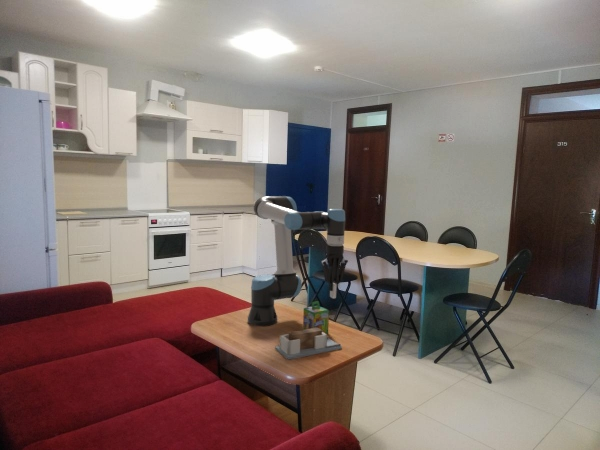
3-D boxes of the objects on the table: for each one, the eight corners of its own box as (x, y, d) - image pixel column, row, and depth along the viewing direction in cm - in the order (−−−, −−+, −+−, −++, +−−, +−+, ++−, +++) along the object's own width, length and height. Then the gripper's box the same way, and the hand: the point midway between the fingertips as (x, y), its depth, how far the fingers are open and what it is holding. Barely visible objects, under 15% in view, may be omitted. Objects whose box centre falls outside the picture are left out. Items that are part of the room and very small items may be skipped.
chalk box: (313, 337, 186) (314, 306, 185) (302, 331, 193) (302, 301, 192) (329, 333, 191) (330, 303, 190) (317, 327, 199) (318, 298, 197)
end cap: (306, 342, 176) (306, 330, 176) (317, 340, 179) (317, 328, 178) (315, 349, 169) (315, 336, 169) (326, 347, 172) (327, 334, 171)
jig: (275, 348, 171) (275, 334, 171) (326, 339, 184) (327, 325, 183) (287, 359, 161) (288, 344, 160) (341, 348, 173) (342, 334, 173)
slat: (292, 351, 166) (293, 335, 166) (288, 348, 170) (288, 332, 169) (321, 346, 173) (322, 330, 172) (316, 342, 176) (317, 327, 176)
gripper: (327, 246, 167) (324, 301, 170) (352, 245, 174) (349, 298, 176) (317, 244, 174) (315, 296, 177) (342, 242, 180) (340, 293, 183)
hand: (332, 297), depth 176 cm, fingers closed
